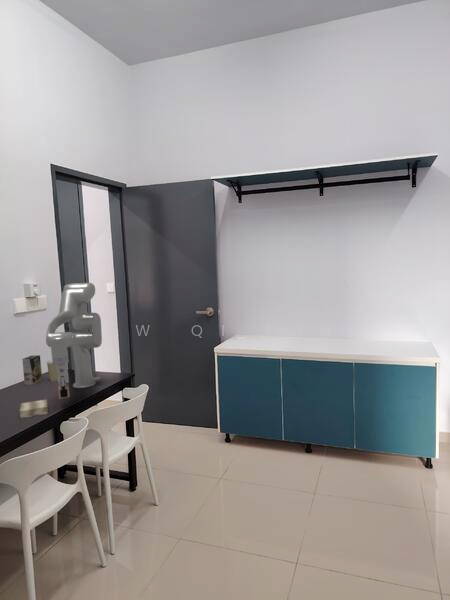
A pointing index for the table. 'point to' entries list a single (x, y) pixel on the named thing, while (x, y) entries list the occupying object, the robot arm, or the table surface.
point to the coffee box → (32, 370)
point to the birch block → (33, 408)
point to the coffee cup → (52, 371)
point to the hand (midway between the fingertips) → (64, 394)
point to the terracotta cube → (60, 393)
